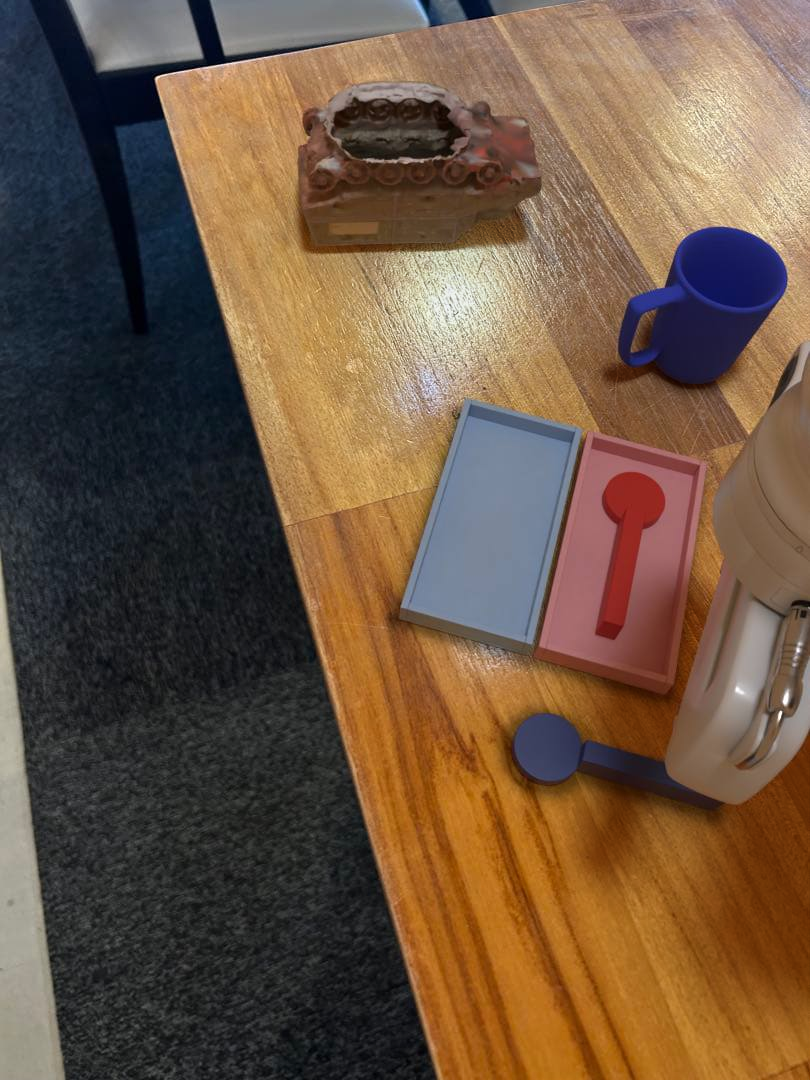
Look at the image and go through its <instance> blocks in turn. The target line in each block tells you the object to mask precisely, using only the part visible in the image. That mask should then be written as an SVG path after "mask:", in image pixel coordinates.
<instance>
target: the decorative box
mask: <svg viewBox="0 0 810 1080" xmlns="http://www.w3.org/2000/svg"><path fill="white" fill-rule="evenodd" d="M515 90H517V91H518V89H517V88H516V89H515ZM326 105H327V107H321V106H312V107H309V108H307V109H306V110H304V111H303V113H302V119H301V123H302V128H303V130H304V133H305V135H306V136H307V137H309V138H308V139H307V143H305V144H301V145H298V147H297V156H298V157H297V161H296V164H297V175H298V179H297V181H298V189H299V198H300V204H301V207H300V213H302V214H303V215H304V220H305V222H306V224H307V226H308V230H309V236H310V240H311V243H313V245H314V246H315V247H317V248H319V247H325V246H326V247H331V246H354V245H355V246H356V245H381V244H384V245H385V244H388V245H389V244H391V245H395V244H432V243H434V244H435V243H436V244H442V243H443V244H444V243H451V244H453V243H455V242H456V241H457V240H458V238H459V237H461V236H462V235H463V234H464V233H466V232H469V231H471V230H473V229H474V228H475V227H476V226H477V224H478V222H496V221H502V220H506V219H507V218H508V217H510V215H511V216H512V215H513V213H514V209H515V208H516V207H517V206H518V205H519V204H520V203H521V202H522V201H525V200H526V199H527V200H528V199H531V198H534V197H536V196H537V195H539V194H540V193H541V191H542V187H543V182H542V178H543V177H542V176H543V173H542V172H541V170H540V168H539V163H538V161H537V156H536V151H535V150H536V144H535V141H534V140H533V139H532V136H531V132H530V129H531V128H530V124H529V121H528V119H527V118H526V117H525V116H522V115H498V116H497V115H492V112H491V106H490V104H489V102H488V101H487V100H486V99H485V100H483V99H475V100H468V101H467V100H466V101H464V100H463V99H462V98H461V97H460V96H459V95H457V94H455V93H454V92H452V91H451V90H449V89H448V88H447V87H443V86H441V85H438V84H435V83H430V82H427V81H420V80H418V81H414V80H403V79H402V80H397V81H396V80H395V81H393V80H390V81H387V80H378V81H374V80H373V81H370V82H369V81H368V82H361V83H359V84H352V85H350V86H347V88H344V89H342V90H340V91H339V92H337V93H335V94H334V95H333V96H332V97H331V98H330V99H328V100H327V103H326Z"/></svg>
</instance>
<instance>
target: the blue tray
mask: <svg viewBox="0 0 810 1080" xmlns="http://www.w3.org/2000/svg"><path fill="white" fill-rule="evenodd" d="M455 427H456V428H455V431H454V434H453V437H452V441H451V443H450V447H449V450H448V453H447V456H446V460H445V462H444V467H443V469H442V472H441V476H440V479H439V482H438V484H437V485H438V486H437V489H436V492H435V494H434V498H433V501H432V504H431V507H430V510H429V514H428V518H427V521H426V523H425V526H424V530H423V533H422V536H421V539H420V542H419V546H418V549H417V553H416V556H415V559H414V562H413V565H412V568H411V571H410V574H409V577H408V581H407V584H406V588H405V591H404V594H403V597H402V601H401V604H400V607H399V615H398V620H401V621H404V622H408V623H412V624H415V625H418V626H422V627H426V628H429V629H433V630H436V631H439V632H442V633H447V634H450V635H453V636H458V637H461V638H463V639H467V640H471V641H475V642H478V643H482V644H485V645H489V646H492V647H494V648H495V647H496V648H499V649H502V650H505V651H509V652H513V653H516V654H519V655H523V656H528V655H529V653H530V651H531V649H532V647H533V644H534V640H535V637H536V632H537V627H538V623H539V619H540V615H541V610H542V606H543V602H544V598H545V593H546V589H547V584H548V581H549V580H548V579H549V576H550V572H551V567H552V563H553V558H554V555H555V550H556V545H557V543H558V537H559V533H560V528H561V525H562V520H563V515H564V512H565V507H566V502H567V498H568V495H569V494H568V493H569V489H570V485H571V481H572V477H573V473H574V468H575V464H576V460H577V455H578V451H579V447H580V443H581V438H582V434H583V428H582V427H578V426H575V425H572V424H571V425H570V424H567V423H563V422H560V421H556V420H551V419H549V418H545V417H541V416H537V415H533V414H529V413H525V412H521V411H519V410H514V409H511V408H506V407H503V406H499V405H495V404H491V403H488V402H484V401H481V400H477V399H472V398H469V397H465V398H464V402H463V405H462V408H461V412H460V415H459V418H458V421H457V424H456V426H455Z"/></svg>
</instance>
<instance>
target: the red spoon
mask: <svg viewBox="0 0 810 1080" xmlns="http://www.w3.org/2000/svg"><path fill="white" fill-rule="evenodd" d="M602 504H603V508H604V510H605V512H606V514H607V516H608V517H609V518H610V519H611V520H612V521H613V522H614V523H616V524H617V525H618V526H617V531H616V535H615V540H614V545H613V550H612V555H611V559H610V564H609V569H608V574H607V579H606V583H605V588H604V593H603V598H602V602H601V607H600V612H599V617H598V622H597V626H596V631H595V634H596V635H599V636H603V637H606V638H610V639H613V640H615V639H616V637H617V636H618V634H619V633H620V631H621V630H622V628H623V627H624V624H625V619H626V613H627V608H628V603H629V598H630V593H631V588H632V582H633V577H634V572H635V567H636V562H637V556H638V551H639V546H640V541H641V536H642V531H643V529H646V528H649V527H651V526H652V525H654V524H655V523H656V522H657V521H658V519H659V518H660V516H661V514H662V513H663V511H664V508H665V495H664V493H663V490H662V489H661V487H660V486H659V484H658V483H657V482H656V481H655V480H653V479H652V478H651V477H649V476H647V475H645V474H642V473H638V472H624V473H620V474H618V475H616V476H614V477H613V478H612V479H611V480H610V481H609V482H608V484H607V486H606V488H605V490H604V492H603V496H602Z"/></svg>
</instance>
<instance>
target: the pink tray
mask: <svg viewBox="0 0 810 1080" xmlns="http://www.w3.org/2000/svg"><path fill="white" fill-rule="evenodd" d="M576 465H577V466H576V470H575V474H574V479H573V483H572V487H571V491H570V496H569V501H568V504H567V510H566V513H565V518H564V521H563V525H562V530H561V535H560V539H559V544H558V548H557V552H556V556H555V561H554V565H553V570H552V574H551V577H550V583H549V587H548V591H547V596H546V600H545V605H544V607H543V608H544V609H543V613H542V617H541V622H540V626H539V630H538V634H537V639H536V642H535V643H536V644H535V647H534V652H533V658H534V659H537V660H541V661H545V662H548V663H552V664H554V665H558V666H562V667H565V668H568V669H573V670H576V671H579V672H583V673H586V674H590V675H594V676H597V677H600V678H603V679H608V680H611V681H613V682H614V681H615V682H618V683H622V684H625V685H628V686H632V687H635V688H639V689H643V690H646V691H650V692H653V693H656V694H659V695H664V696H665V695H666V694H667V693H668V692H669V691H670V690H671V688H672V687H673V686H674V685H675V679H676V672H677V666H678V660H679V653H680V652H679V651H680V647H681V639H682V632H683V628H684V620H685V614H686V606H687V601H688V600H687V599H688V594H689V586H690V579H691V574H692V566H693V559H694V554H695V547H696V540H697V534H698V528H699V522H700V521H699V520H700V514H701V506H702V500H703V493H704V488H705V480H706V475H707V467H708V461H706V460H703V459H699V458H695V457H691V456H687V455H684V454H680V453H675V452H673V451H669V450H665V449H661V448H657V447H655V446H654V447H653V446H649V445H647V444H642V443H638V442H635V441H631V440H627V439H623V438H620V437H617V436H612V435H609V434H605V433H600V432H597V431H593V430H587V432H586V435H585V437H584V440H583V442H582V444H581V449H580V453H579V457H578V461H577V464H576ZM624 472H638V473H642V474H645V475H647V476H649V477H651V478H652V479H653V480H655V481H656V482H657V483H658V484H659V486H660V487H661V489H662V490H663V493H664V495H665V508H664V511H663V513H662V514H661V516H660V518H659V519H658V521H657V522H656V523H655V524H654V525H652V526H651V527H649V528H646V529H643V531H642V536H641V541H640V546H639V551H638V556H637V562H636V567H635V572H634V577H633V582H632V588H631V593H630V598H629V603H628V608H627V613H626V619H625V624H624V627H623V628H622V630H621V631H620V633H619V634H618V636H617V637H616V639H615V640H613V639H610V638H606V637H603V636H599V635H596V634H595V631H596V626H597V622H598V617H599V612H600V607H601V602H602V598H603V593H604V588H605V583H606V579H607V574H608V569H609V564H610V559H611V555H612V550H613V545H614V540H615V535H616V531H617V526H618V525H617V524H616V523H614V522H613V521H612V520H611V519H610V518H609V517H608V516H607V514H606V512H605V510H604V508H603V504H602V496H603V492H604V490H605V488H606V486H607V484H608V482H609V481H610V480H611V479H612V478H613V477H614V476H616V475H618V474H620V473H624Z"/></svg>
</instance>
